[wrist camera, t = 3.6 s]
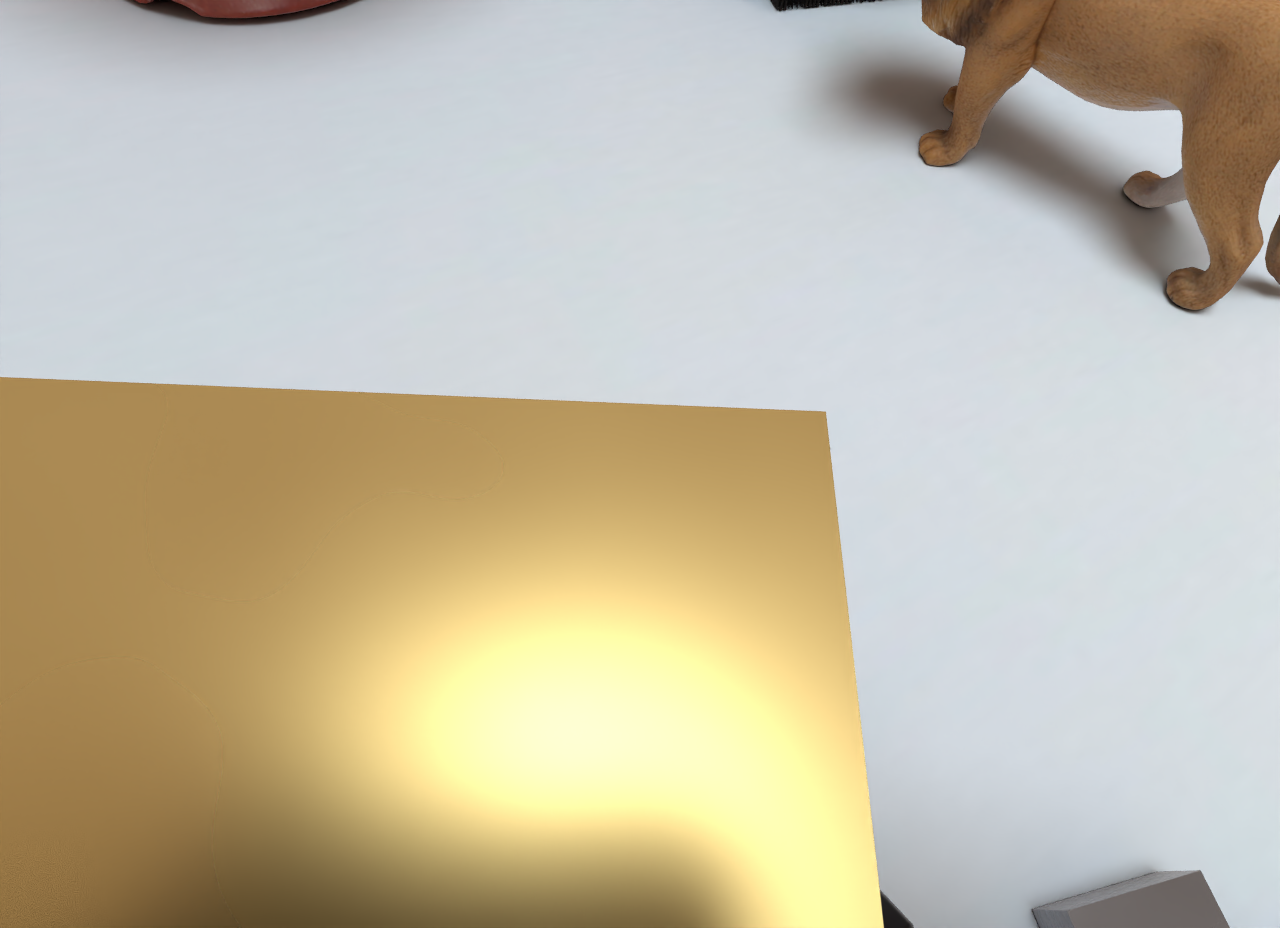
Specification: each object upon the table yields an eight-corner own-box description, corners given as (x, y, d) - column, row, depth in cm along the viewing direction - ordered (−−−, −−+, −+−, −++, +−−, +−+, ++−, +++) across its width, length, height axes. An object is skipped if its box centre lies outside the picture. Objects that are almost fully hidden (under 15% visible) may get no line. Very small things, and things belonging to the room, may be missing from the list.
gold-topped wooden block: (649, 1031, 13) (1004, 2010, 2) (408, 1026, 13) (-1019, 2065, 2) (651, 775, 15) (826, 411, 4) (442, 769, 15) (-77, 373, 3)
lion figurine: (785, 131, 24) (876, -238, 16) (860, 46, 26) (972, -315, 18) (1269, 356, 21) (1683, 29, 13) (1308, 237, 23) (1681, -105, 15)
